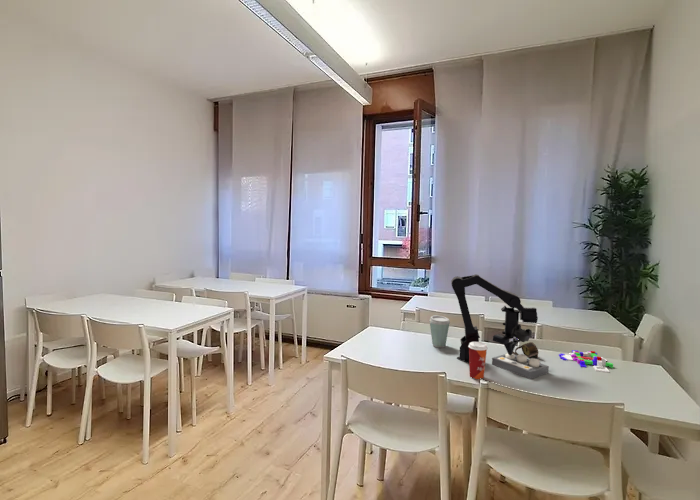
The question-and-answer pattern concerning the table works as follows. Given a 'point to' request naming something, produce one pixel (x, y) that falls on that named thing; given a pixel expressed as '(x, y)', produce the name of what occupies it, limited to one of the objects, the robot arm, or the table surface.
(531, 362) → the button
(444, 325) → the disposable coffee cup
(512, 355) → the button
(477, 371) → the paper cup
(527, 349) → the brown mug
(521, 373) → the button panel
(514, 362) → the pattern card
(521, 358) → the button middle
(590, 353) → the building block set
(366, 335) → the table surface
